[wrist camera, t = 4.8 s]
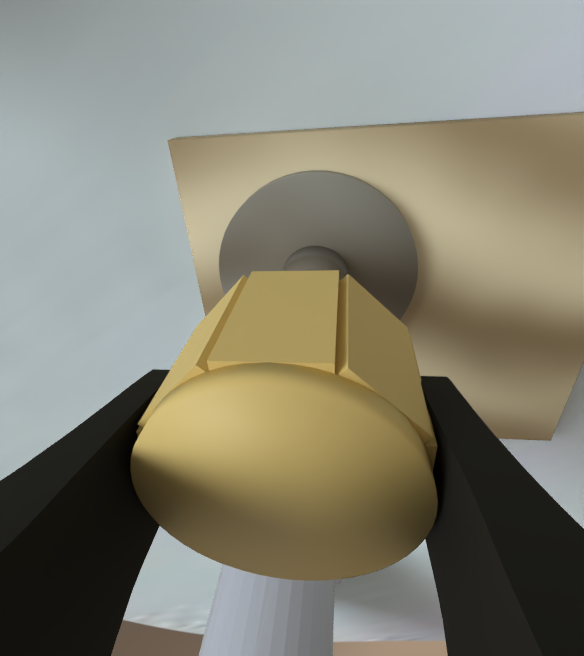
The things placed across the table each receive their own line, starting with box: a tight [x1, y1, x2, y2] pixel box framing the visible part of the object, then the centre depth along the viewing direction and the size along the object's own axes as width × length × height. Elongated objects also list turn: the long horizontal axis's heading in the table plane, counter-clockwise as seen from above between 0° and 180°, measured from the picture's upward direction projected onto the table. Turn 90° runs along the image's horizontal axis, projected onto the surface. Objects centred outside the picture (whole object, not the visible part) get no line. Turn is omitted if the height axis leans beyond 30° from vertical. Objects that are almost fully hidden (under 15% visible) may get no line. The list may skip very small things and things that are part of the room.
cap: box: [130, 270, 438, 581], centre depth 9 cm, size 5×5×4 cm
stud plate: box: [168, 112, 584, 441], centre depth 15 cm, size 14×16×3 cm
